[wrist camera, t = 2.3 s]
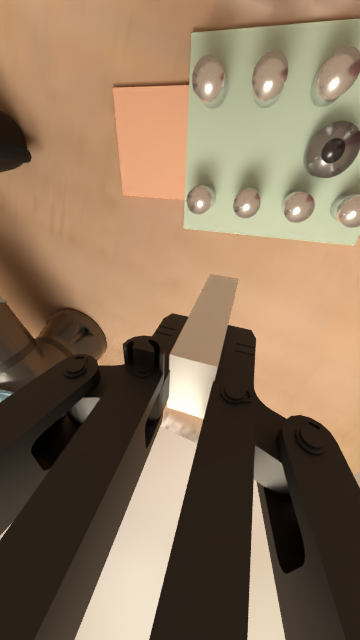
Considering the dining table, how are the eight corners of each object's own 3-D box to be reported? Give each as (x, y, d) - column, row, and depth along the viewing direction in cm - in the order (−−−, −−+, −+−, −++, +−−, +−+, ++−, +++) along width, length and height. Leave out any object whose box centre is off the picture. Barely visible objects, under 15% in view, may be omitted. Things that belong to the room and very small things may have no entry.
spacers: (193, 208, 34) (185, 213, 30) (201, 70, 26) (192, 55, 22) (353, 221, 29) (366, 228, 26) (422, 60, 21) (455, 38, 18)
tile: (124, 195, 36) (122, 195, 35) (114, 89, 29) (112, 87, 29) (185, 199, 34) (184, 199, 33) (190, 86, 27) (189, 85, 27)
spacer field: (184, 227, 36) (183, 228, 36) (192, 35, 25) (191, 32, 24) (353, 244, 31) (354, 245, 31) (458, 13, 20) (463, 9, 19)
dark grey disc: (297, 176, 28) (300, 177, 26) (312, 124, 26) (316, 120, 24) (341, 178, 27) (348, 179, 25) (361, 124, 25) (371, 120, 23)
